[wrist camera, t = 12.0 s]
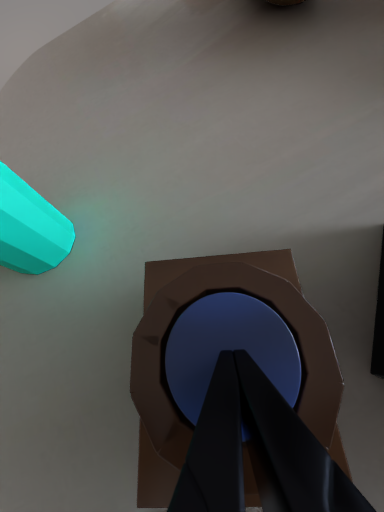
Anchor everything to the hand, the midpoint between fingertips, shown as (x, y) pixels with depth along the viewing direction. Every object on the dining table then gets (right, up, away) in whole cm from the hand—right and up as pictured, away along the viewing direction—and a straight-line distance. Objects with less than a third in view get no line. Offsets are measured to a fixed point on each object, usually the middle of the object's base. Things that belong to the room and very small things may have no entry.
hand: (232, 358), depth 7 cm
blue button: (0, -1, +2) cm, 2 cm away
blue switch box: (+1, -3, +7) cm, 7 cm away
